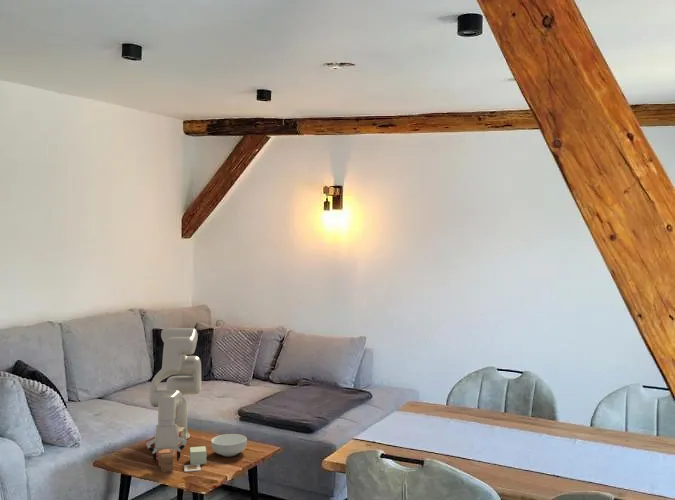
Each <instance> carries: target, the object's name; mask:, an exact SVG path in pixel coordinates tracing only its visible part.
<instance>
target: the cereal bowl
mask: <svg viewBox="0 0 675 500" xmlns="http://www.w3.org/2000/svg"><path fill="white" fill-rule="evenodd" d="M247 443H248V439H247V437H246V435H243V434H239V433H238V434H237V433H225V434H220V435H217V436H214V437H212V438H211V443H210V444H211V447H212V451H214V452H215V453H216V454H218V455H221V456H223V457H234V456H236V455H238V454H239V453H242V452H243V451H244V450H245V449H246V447H247Z"/></svg>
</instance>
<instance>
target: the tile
mask: <svg viewBox="0 0 675 500" xmlns="http://www.w3.org/2000/svg"><path fill="white" fill-rule="evenodd" d="M183 469H184V471H183V472H184V473H188V472H201V471H202V469H201V464H195V465H190V464H185V465H183Z"/></svg>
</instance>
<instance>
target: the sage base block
mask: <svg viewBox="0 0 675 500" xmlns="http://www.w3.org/2000/svg"><path fill="white" fill-rule="evenodd" d="M189 463H190V464H189V465H195V464H200V465H207V447H206V446H205V445H204V446H203V445H201V446H192V447H189Z"/></svg>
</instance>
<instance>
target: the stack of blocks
mask: <svg viewBox="0 0 675 500" xmlns="http://www.w3.org/2000/svg"><path fill="white" fill-rule="evenodd" d="M178 437H180V438H182V439H184V440H186V441H187V439H186V427H178ZM182 444H183V442H180V441H179V442H178V446H179V447H180V446H181V445H182ZM186 445H187V444H186ZM186 445H185V446H184V448H185V447H186ZM159 450H160V449H158V450H157V451H156V461H157V460H158V455H159ZM170 454H172V455H173V456H175V455H177V449H176V448H170Z"/></svg>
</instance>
